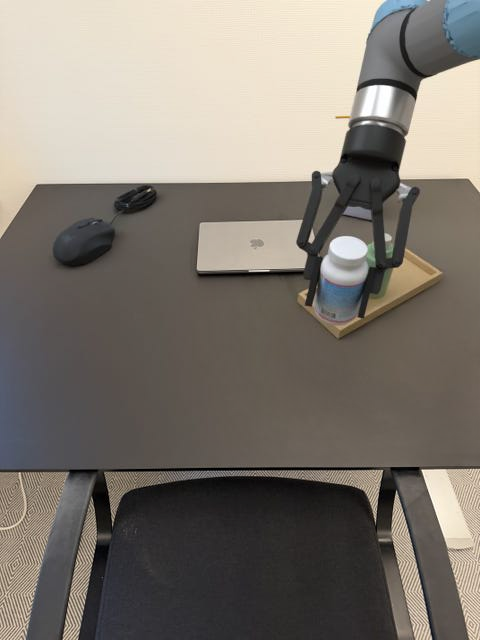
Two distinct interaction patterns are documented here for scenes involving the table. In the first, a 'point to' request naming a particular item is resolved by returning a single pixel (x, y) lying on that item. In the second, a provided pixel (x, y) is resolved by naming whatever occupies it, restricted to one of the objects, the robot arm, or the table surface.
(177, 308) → the table surface
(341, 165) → the robot arm
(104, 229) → the computer mouse
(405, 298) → the tray
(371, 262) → the green bottle
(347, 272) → the pill bottle
